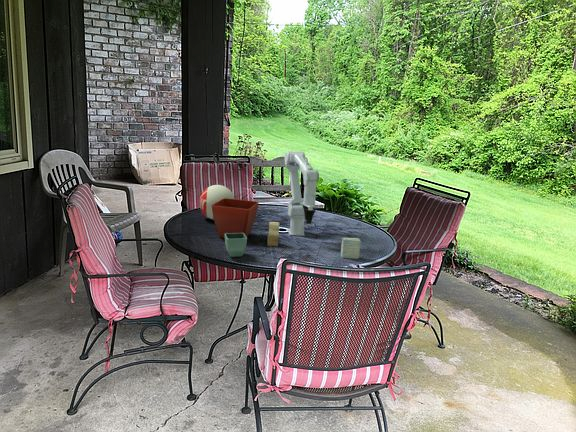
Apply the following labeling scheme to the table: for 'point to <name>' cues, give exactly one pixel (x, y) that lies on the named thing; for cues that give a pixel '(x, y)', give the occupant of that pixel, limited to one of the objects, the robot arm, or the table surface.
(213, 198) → the decorative sphere
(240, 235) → the flower pot
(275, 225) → the oak block
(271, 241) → the tan wooden cube
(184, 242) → the table surface
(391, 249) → the table surface
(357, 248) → the medicine box
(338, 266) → the table surface
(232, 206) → the plant pot
